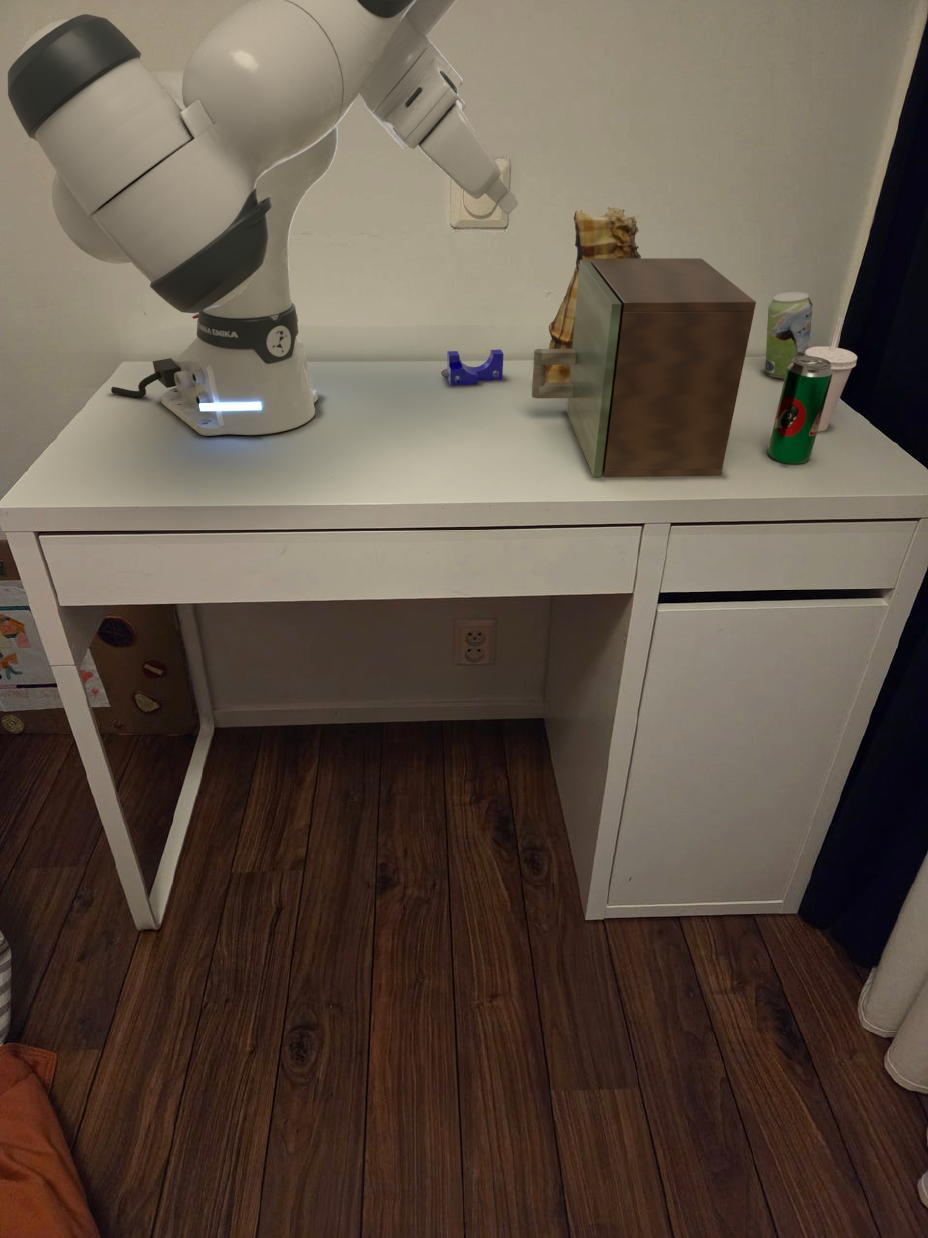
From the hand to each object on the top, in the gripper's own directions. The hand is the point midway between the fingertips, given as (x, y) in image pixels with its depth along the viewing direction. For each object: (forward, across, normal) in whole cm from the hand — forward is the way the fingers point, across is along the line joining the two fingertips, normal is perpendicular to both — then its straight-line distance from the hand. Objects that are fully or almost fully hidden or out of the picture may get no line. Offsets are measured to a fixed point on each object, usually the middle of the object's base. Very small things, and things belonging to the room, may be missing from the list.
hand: (512, 207), depth 93 cm
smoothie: (+49, -3, +10) cm, 50 cm away
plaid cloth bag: (+29, -20, -9) cm, 37 cm away
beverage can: (+51, -23, +12) cm, 57 cm away
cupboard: (+32, +2, -6) cm, 32 cm away
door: (+24, +2, -14) cm, 28 cm away
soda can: (+44, +7, +5) cm, 45 cm away
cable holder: (+18, -21, -21) cm, 35 cm away
